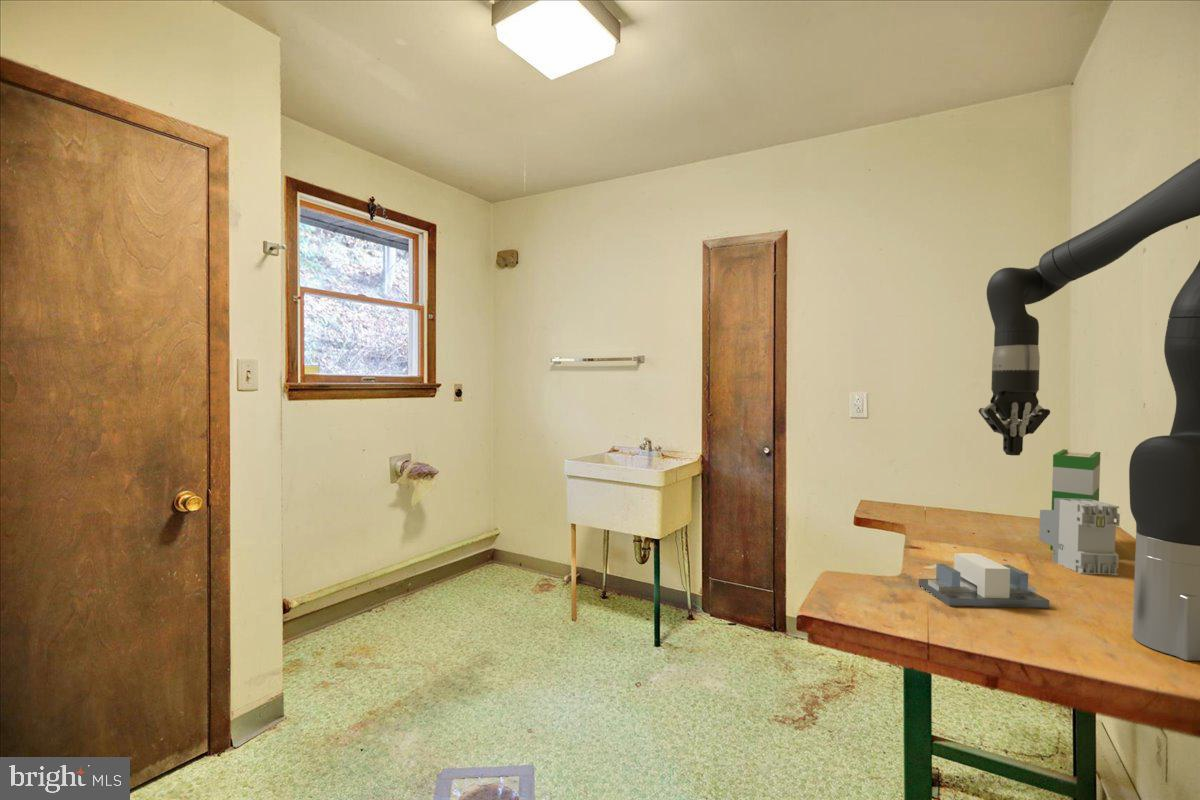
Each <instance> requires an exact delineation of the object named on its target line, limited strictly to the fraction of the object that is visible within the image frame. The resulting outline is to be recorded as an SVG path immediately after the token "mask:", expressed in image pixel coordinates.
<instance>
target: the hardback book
mask: <svg viewBox="0 0 1200 800" xmlns="http://www.w3.org/2000/svg"><path fill="white" fill-rule="evenodd" d="M1068 450H1069V449H1061V450H1059V451H1057V452H1056V453H1054V454H1053V456H1052V482H1051V483H1052V485H1051V486H1052V488H1051V510H1054V498H1072V499H1092V500H1096V501H1100V480H1101V479H1100V477H1101V452H1100V451H1094V452H1093V453H1085V452H1084V453H1082V452H1071V451H1070V452H1069V451H1068ZM1049 549H1050V551H1052V550H1053V546H1052V545H1050V548H1049Z"/></svg>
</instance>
